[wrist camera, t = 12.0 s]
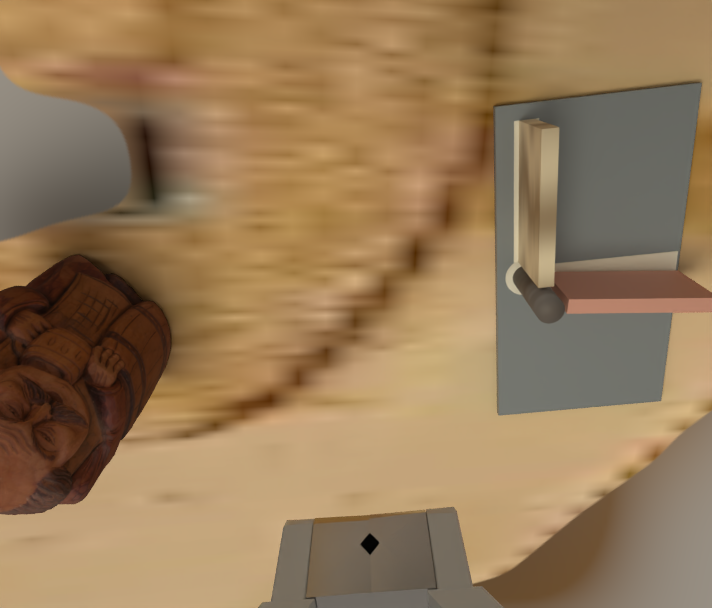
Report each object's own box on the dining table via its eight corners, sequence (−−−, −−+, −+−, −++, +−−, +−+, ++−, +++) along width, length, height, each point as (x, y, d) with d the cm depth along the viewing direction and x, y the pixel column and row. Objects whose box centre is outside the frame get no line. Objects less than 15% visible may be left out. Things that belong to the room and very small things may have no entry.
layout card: (493, 106, 36) (495, 107, 36) (697, 82, 36) (702, 82, 35) (497, 412, 46) (499, 416, 45) (657, 397, 45) (661, 401, 45)
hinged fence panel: (543, 285, 40) (567, 313, 36) (545, 272, 40) (569, 299, 35) (674, 283, 40) (715, 312, 36) (678, 270, 40) (719, 297, 35)
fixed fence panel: (512, 121, 36) (539, 132, 31) (540, 117, 36) (572, 128, 31) (512, 289, 41) (535, 324, 35) (537, 286, 41) (564, 322, 35)
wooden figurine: (201, 338, 43) (104, 509, 27) (152, 387, 45) (33, 575, 29) (72, 234, 40) (-128, 357, 24) (25, 292, 42) (-192, 443, 25)
